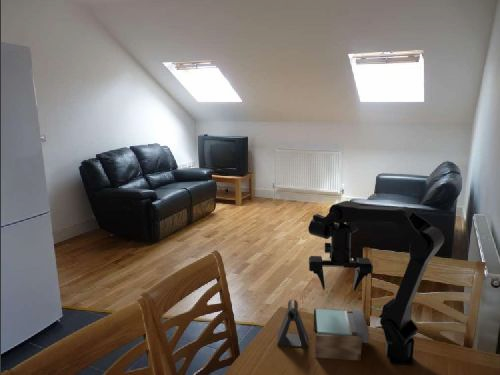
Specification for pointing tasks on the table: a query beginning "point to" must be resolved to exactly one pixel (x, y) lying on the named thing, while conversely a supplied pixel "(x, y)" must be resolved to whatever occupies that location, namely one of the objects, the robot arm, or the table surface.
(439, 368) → the table surface
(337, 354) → the trapdoor frame
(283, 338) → the phone stand
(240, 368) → the table surface
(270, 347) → the table surface
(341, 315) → the trapdoor
